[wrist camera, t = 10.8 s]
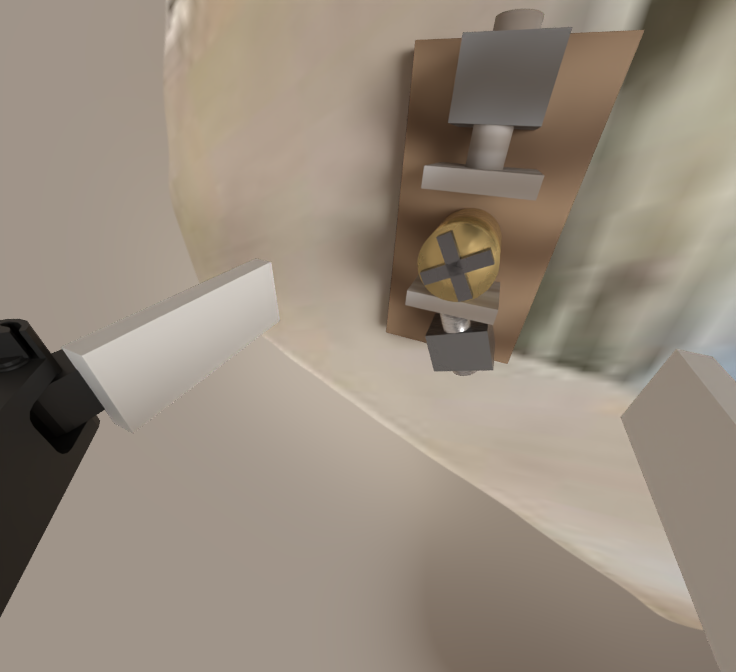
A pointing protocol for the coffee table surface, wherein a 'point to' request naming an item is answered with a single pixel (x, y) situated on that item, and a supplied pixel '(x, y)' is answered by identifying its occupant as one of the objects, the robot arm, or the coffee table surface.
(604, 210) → the coffee table surface
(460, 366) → the grey block with shaft
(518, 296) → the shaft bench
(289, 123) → the coffee table surface
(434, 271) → the gold rounded cylinder
